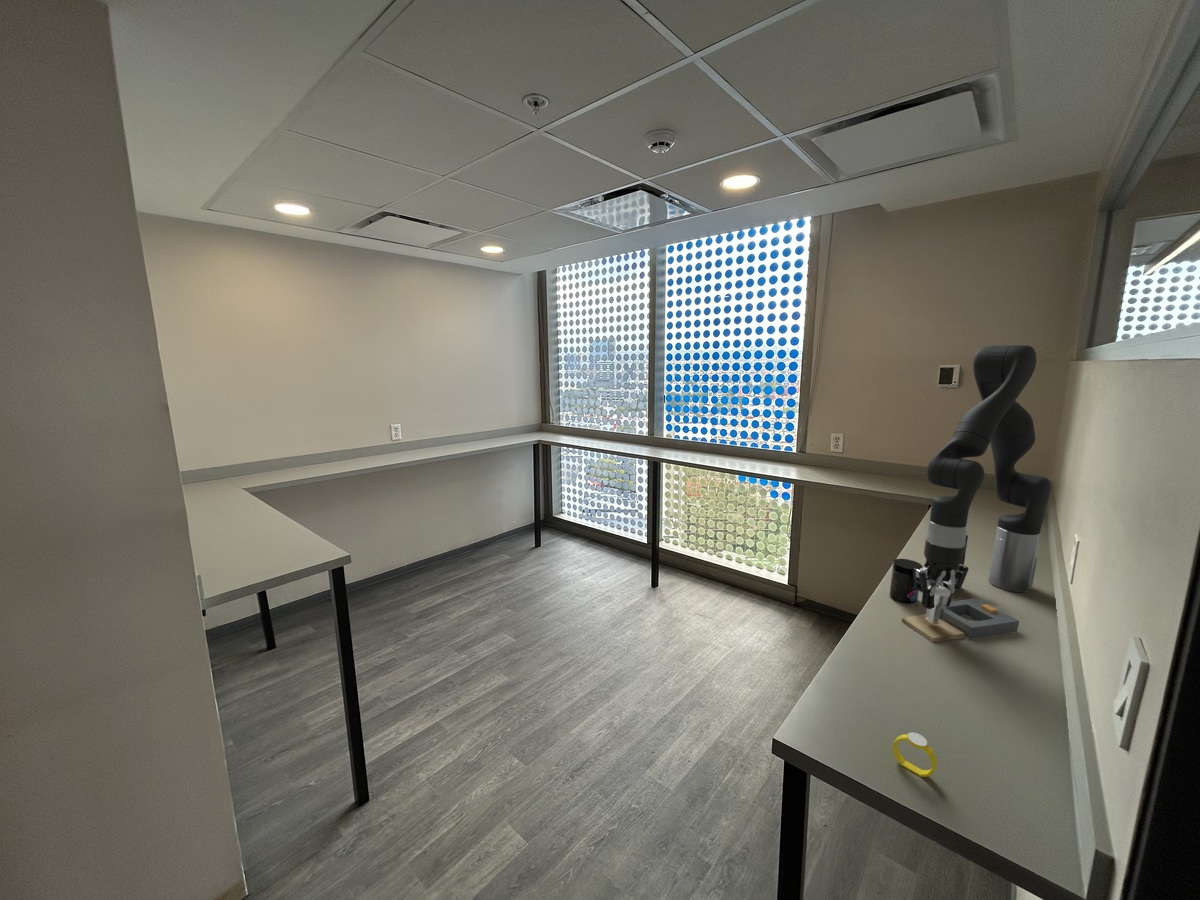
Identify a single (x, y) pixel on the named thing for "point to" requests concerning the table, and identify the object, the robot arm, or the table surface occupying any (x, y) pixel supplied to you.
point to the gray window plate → (979, 619)
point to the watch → (919, 743)
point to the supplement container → (904, 581)
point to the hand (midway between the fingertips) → (935, 606)
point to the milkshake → (938, 605)
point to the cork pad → (932, 628)
